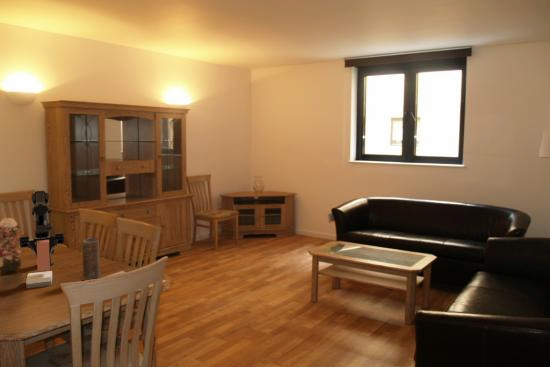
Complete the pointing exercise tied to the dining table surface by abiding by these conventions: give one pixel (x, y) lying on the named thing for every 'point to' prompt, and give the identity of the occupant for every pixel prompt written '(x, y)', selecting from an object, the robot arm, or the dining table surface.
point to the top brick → (43, 255)
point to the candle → (91, 258)
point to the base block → (39, 279)
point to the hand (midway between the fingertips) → (43, 255)
